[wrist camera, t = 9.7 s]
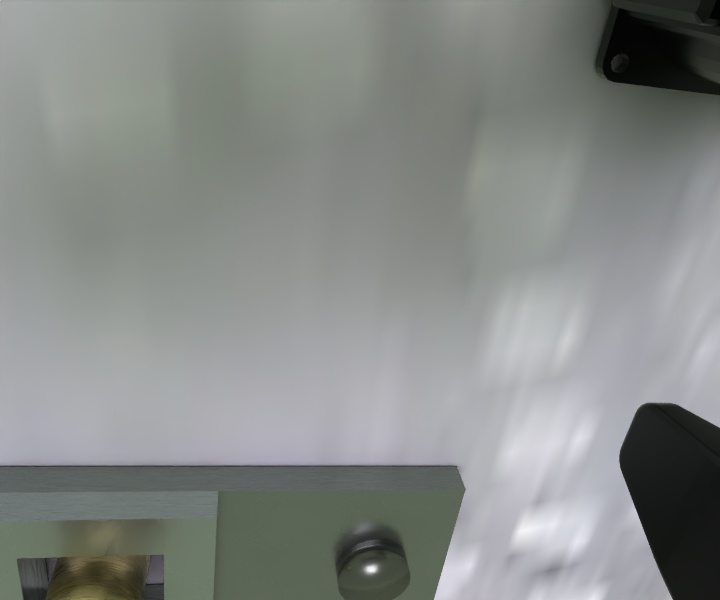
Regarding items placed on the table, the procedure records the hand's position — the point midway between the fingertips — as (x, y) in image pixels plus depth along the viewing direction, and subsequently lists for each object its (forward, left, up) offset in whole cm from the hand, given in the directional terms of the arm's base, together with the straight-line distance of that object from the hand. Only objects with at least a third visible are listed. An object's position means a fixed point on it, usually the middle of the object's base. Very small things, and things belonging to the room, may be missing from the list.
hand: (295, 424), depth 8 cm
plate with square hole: (+5, +16, -12) cm, 21 cm away
